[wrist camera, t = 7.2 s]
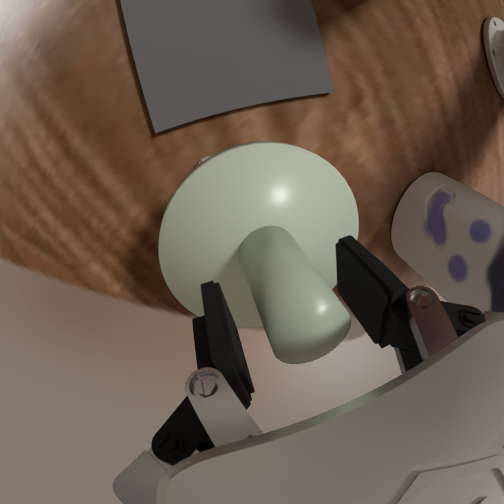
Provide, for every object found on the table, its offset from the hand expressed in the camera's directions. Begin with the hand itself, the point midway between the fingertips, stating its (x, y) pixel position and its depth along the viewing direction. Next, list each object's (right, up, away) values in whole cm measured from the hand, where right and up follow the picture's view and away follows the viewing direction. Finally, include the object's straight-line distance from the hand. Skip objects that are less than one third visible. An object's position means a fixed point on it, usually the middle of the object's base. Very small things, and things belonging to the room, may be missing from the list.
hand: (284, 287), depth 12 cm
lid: (-1, +2, +3) cm, 4 cm away
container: (+16, +5, +12) cm, 21 cm away
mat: (-3, +16, +1) cm, 16 cm away
